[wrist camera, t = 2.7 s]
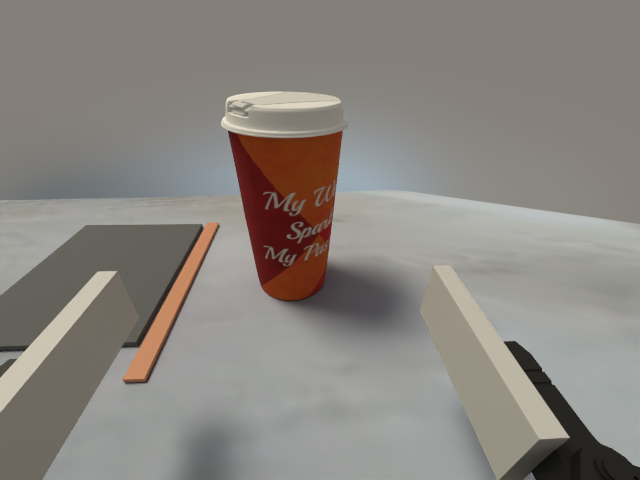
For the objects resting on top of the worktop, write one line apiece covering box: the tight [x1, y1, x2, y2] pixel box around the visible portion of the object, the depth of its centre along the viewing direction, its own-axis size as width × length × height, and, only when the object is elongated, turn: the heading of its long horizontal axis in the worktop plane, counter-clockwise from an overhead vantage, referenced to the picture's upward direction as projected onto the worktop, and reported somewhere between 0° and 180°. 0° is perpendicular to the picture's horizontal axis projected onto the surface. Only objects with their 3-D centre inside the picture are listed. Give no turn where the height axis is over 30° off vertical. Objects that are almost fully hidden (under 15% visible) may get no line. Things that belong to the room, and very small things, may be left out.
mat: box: [0, 224, 203, 350], centre depth 25 cm, size 12×15×1 cm
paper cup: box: [221, 92, 348, 301], centre depth 21 cm, size 8×8×14 cm
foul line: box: [123, 223, 219, 382], centre depth 24 cm, size 1×18×1 cm, turn 3°
